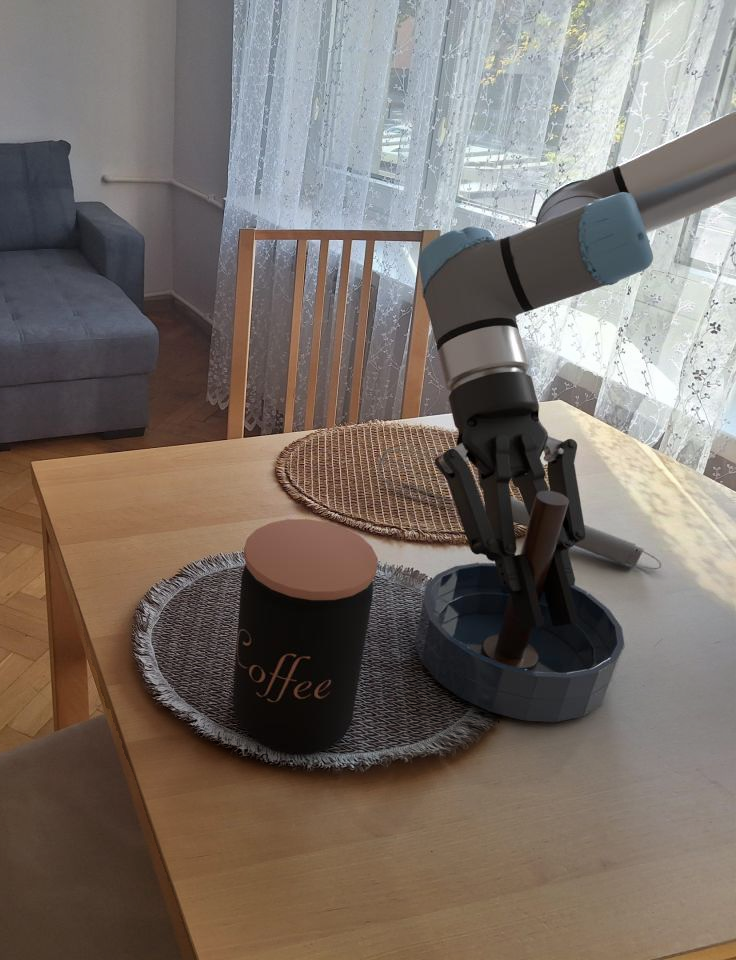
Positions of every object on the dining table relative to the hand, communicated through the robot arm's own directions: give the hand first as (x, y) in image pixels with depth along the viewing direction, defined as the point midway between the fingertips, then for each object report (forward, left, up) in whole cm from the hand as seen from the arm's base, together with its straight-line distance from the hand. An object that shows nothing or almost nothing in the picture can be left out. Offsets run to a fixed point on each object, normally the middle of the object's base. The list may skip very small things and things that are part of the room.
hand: (548, 625), depth 77 cm
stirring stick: (+2, -3, -7) cm, 8 cm away
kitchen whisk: (+3, -31, -8) cm, 32 cm away
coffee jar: (+20, +12, -8) cm, 25 cm away
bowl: (+2, -3, -8) cm, 9 cm away
